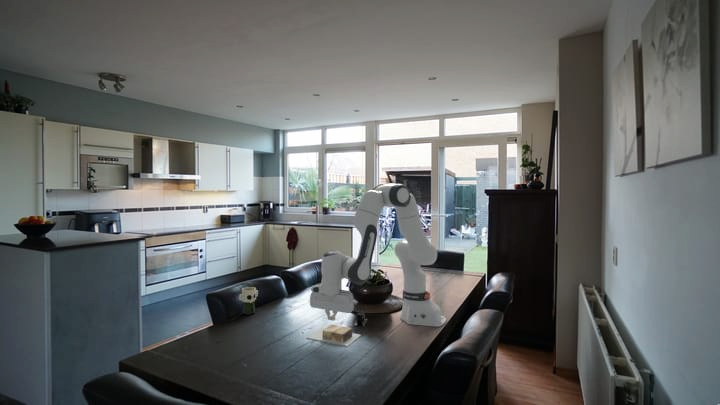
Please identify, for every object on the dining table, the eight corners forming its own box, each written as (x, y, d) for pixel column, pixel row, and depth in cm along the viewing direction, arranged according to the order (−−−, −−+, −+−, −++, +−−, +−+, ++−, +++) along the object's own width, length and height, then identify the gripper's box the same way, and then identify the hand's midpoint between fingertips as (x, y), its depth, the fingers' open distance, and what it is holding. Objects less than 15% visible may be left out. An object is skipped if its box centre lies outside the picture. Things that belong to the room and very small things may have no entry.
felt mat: (360, 335, 165) (360, 334, 165) (347, 346, 153) (347, 345, 153) (321, 328, 173) (321, 327, 173) (306, 338, 162) (306, 337, 162)
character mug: (243, 317, 188) (243, 292, 187) (235, 314, 192) (235, 289, 192) (261, 312, 196) (261, 287, 196) (253, 309, 201) (253, 285, 200)
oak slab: (331, 332, 168) (352, 336, 164) (322, 338, 161) (343, 342, 156) (331, 324, 168) (352, 328, 163) (322, 330, 161) (343, 334, 156)
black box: (364, 328, 176) (364, 318, 176) (349, 326, 177) (349, 317, 177) (370, 319, 188) (370, 310, 188) (356, 318, 190) (356, 309, 189)
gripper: (356, 289, 161) (356, 321, 162) (315, 284, 170) (315, 314, 170) (349, 293, 156) (349, 325, 156) (307, 287, 164) (307, 318, 165)
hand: (331, 319), depth 163 cm, fingers closed
